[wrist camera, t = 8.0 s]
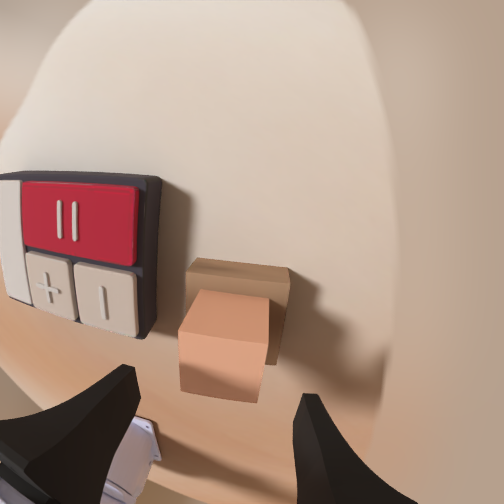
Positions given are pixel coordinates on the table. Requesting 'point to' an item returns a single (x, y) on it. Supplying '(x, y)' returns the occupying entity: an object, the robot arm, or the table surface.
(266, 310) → the terracotta block
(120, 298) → the calculator
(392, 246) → the table surface
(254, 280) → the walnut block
